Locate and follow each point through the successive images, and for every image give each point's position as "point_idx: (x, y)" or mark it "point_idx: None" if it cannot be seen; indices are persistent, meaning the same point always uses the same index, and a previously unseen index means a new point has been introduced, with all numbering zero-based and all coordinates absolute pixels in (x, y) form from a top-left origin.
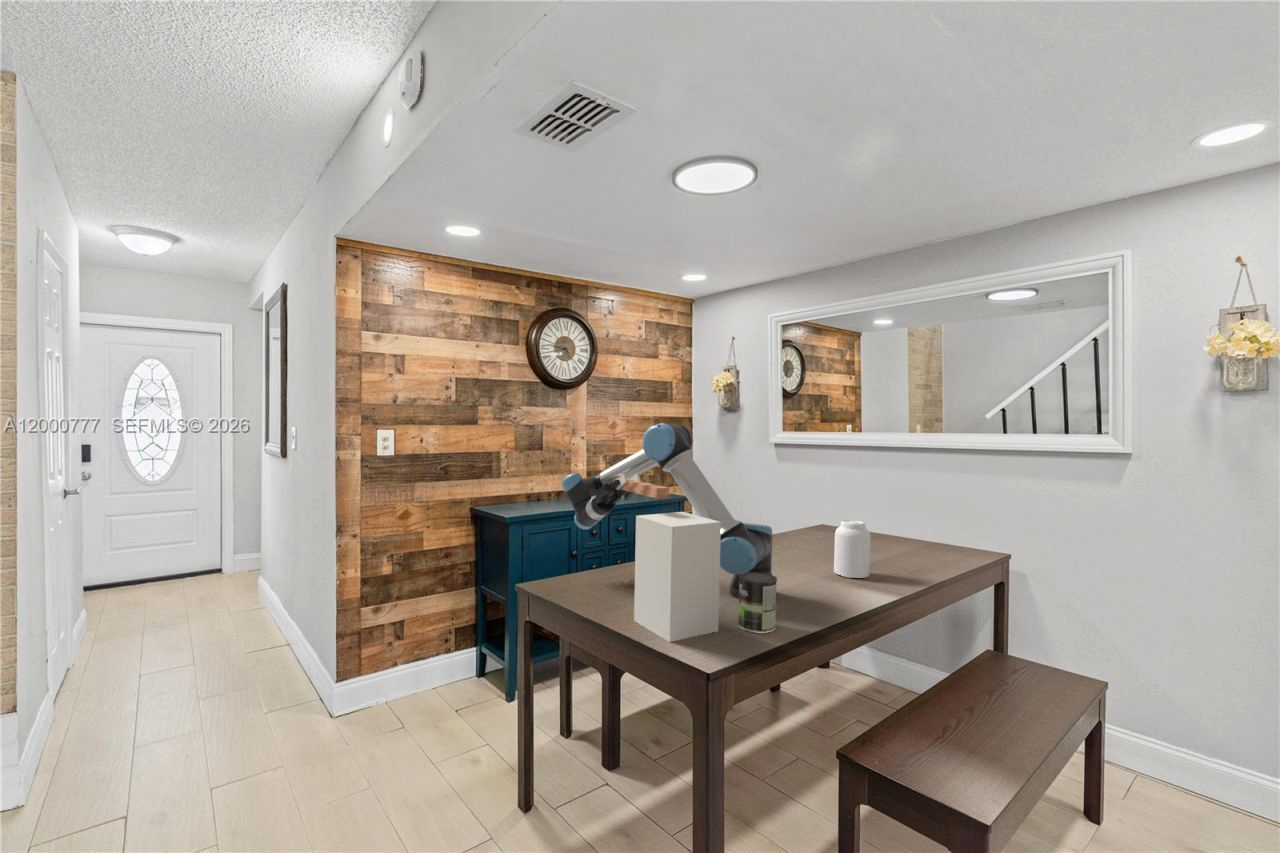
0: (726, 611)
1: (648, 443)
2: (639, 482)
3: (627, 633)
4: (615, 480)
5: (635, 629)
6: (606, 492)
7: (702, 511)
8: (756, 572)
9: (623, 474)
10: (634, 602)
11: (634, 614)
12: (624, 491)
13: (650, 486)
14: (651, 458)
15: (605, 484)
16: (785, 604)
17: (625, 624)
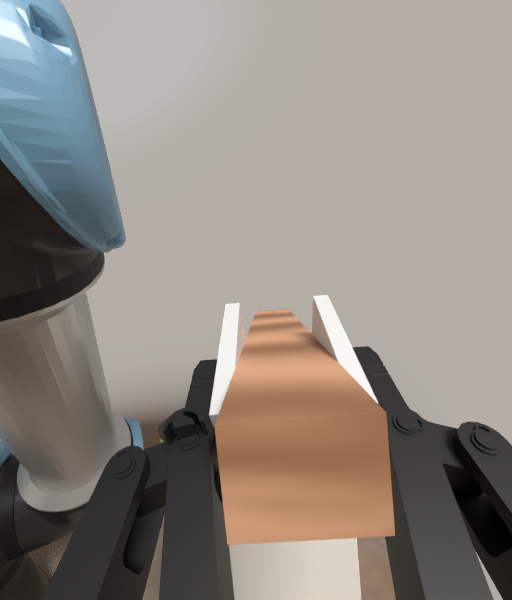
0: (158, 561)
1: (95, 117)
2: (275, 327)
3: (385, 541)
4: (376, 353)
5: (367, 552)
6: (480, 520)
7: (109, 412)
8: (163, 434)
9: (327, 301)
10: (358, 563)
11: (359, 587)
12: (229, 585)
13: (289, 312)
14: (119, 230)
15: (490, 432)
16: (48, 544)
17: (385, 590)
